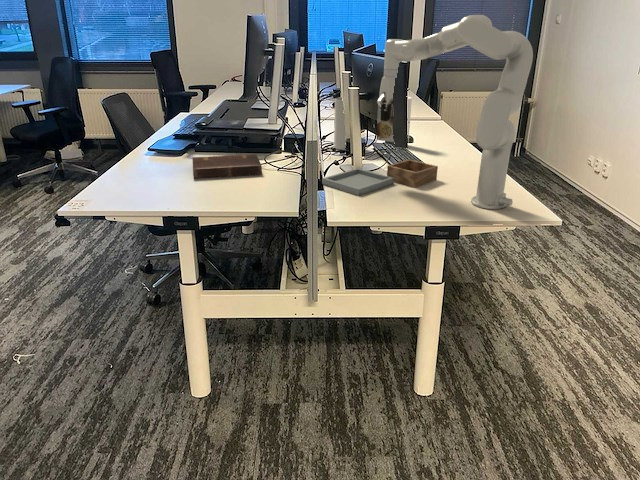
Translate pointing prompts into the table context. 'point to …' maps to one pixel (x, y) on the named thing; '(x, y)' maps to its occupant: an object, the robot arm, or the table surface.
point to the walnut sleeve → (412, 173)
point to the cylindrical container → (409, 113)
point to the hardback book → (226, 166)
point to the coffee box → (385, 124)
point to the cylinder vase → (339, 125)
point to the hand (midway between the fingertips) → (390, 119)
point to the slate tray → (357, 181)
